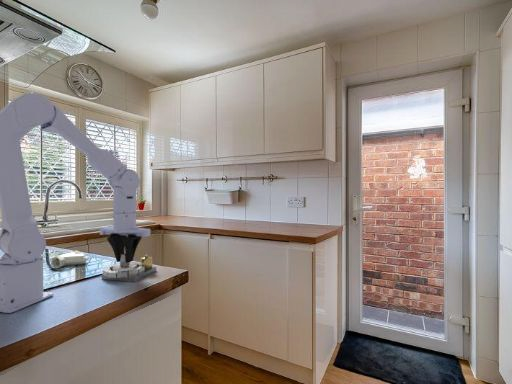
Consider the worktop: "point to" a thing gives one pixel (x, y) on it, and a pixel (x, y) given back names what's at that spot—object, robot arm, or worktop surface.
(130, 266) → the silver stemmed round piece
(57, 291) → the worktop surface
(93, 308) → the worktop surface
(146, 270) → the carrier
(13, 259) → the robot arm
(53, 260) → the pipe fitting
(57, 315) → the worktop surface
